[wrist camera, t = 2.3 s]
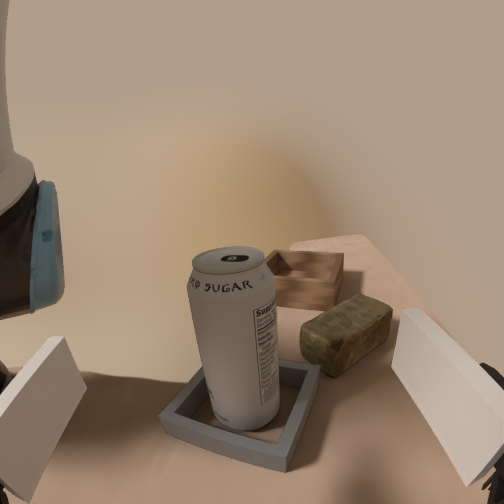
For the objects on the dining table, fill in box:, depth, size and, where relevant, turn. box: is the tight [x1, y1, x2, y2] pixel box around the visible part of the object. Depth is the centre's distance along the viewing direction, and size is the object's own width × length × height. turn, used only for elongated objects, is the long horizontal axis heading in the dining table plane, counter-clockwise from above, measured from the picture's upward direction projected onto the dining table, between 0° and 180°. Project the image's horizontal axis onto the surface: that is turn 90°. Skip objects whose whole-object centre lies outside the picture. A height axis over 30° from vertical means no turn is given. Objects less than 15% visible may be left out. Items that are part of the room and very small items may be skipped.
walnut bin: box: [264, 250, 344, 311], centre depth 48 cm, size 13×13×4 cm
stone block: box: [300, 293, 393, 377], centre depth 31 cm, size 6×12×5 cm, turn 125°
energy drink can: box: [187, 246, 280, 431], centre depth 22 cm, size 6×6×15 cm
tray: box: [158, 359, 321, 473], centre depth 24 cm, size 11×11×2 cm
